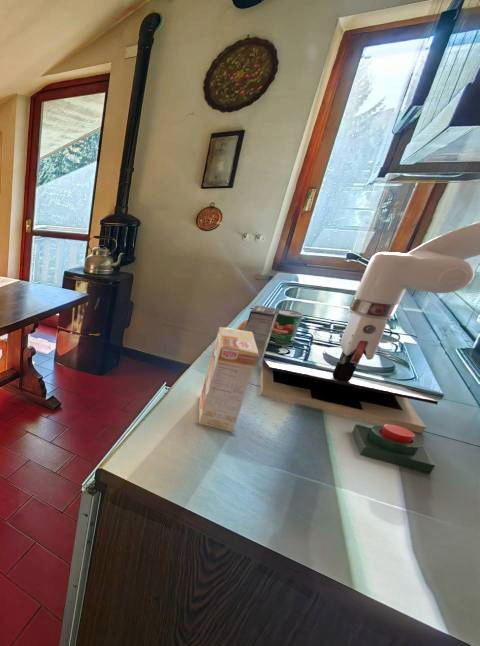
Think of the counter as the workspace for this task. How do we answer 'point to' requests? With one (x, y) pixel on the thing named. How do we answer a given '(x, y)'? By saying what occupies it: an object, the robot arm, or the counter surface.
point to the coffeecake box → (227, 378)
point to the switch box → (392, 449)
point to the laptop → (340, 399)
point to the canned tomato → (285, 327)
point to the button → (397, 433)
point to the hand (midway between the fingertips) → (340, 378)
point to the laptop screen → (353, 382)
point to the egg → (242, 325)
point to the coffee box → (261, 327)
